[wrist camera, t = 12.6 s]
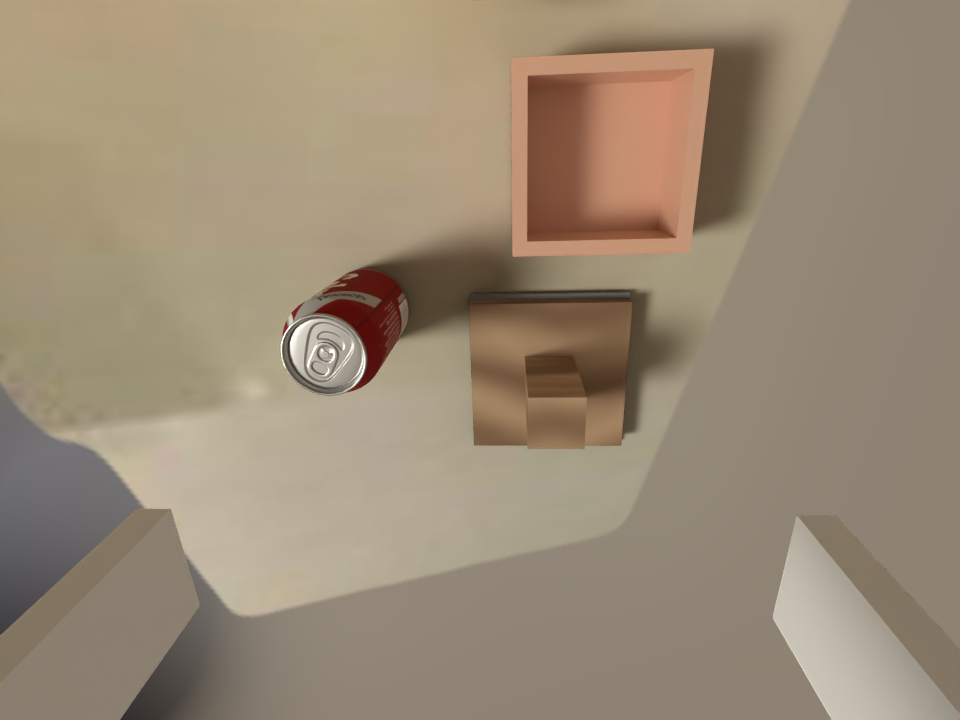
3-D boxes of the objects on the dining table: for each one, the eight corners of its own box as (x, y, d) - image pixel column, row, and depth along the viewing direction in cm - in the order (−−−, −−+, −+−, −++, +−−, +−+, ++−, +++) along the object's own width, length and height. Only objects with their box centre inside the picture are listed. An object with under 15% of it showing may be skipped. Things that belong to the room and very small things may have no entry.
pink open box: (510, 73, 36) (511, 57, 31) (681, 66, 36) (714, 48, 30) (512, 243, 41) (512, 256, 35) (664, 240, 40) (690, 252, 34)
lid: (469, 300, 42) (459, 336, 33) (629, 298, 41) (661, 333, 32) (474, 438, 47) (467, 500, 38) (618, 438, 46) (643, 502, 37)
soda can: (423, 289, 42) (392, 334, 31) (392, 356, 45) (353, 420, 34) (349, 252, 42) (290, 285, 30) (321, 322, 44) (257, 376, 33)
